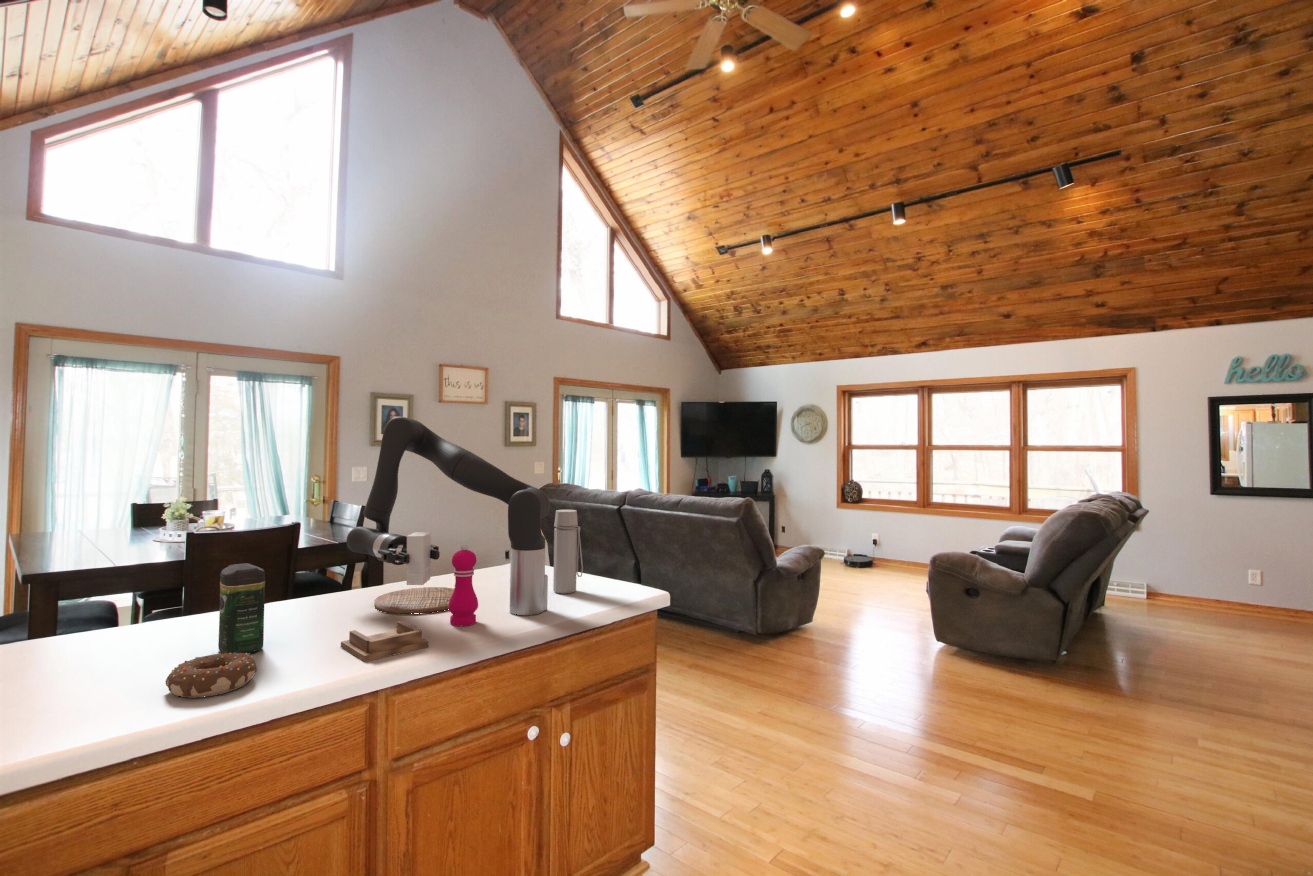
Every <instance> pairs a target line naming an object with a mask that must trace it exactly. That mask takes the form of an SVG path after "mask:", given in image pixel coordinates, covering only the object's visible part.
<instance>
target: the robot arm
mask: <svg viewBox="0 0 1313 876" xmlns="http://www.w3.org/2000/svg"><path fill="white" fill-rule="evenodd" d="M406 451H407V452H409V453H414V454H415V455H418V456H420V457H423V458H424V459H426V460H428V461H430V462H431V463H432V464H434V465H435V466H436V467H437V468H438V469H439V470H440V471H441V473H443V474H444V476H446V477H447V478H449V479H450V480H452V481H454V482H455V483H456V484H458V485H460V486H462V487H463V488H466V489H468V490H470V491H473V492H476V493H479V494H480V495H485V496H488V497H492V498H495V499H497V500H500V501H502V502H503V503H504V504H506V505H508V506H507V507H508V508H507V530H508V531H507V532H508V539H509V541H510V569H509V570H510V579H509V613H510V614H512V615H516V614H517V615H516V616H533V614H534V615H538V614H542V613H543V612H545V611H548V593H549V592H548V589H549V588H548V581H549V579H548V578H549V577H548V574H546V569H545V568H546V537H545V536H544V535H543V534H542V522H541V521H542V519H544V518H545V517H546V516H547V515H548V514H549V512H550V509H551V502H550V499H549V497H548V496H547V494H546V493H545V492H544V491H543V490H541V489H540V488H538V487H534V486H532V485H530V484H527V483H525V482H523V481H521V480H518V479H517V478H515V477H513V476H510V474H507V473H506V472H505V471H503V470H501V469H500V468H498V467H497V466H495V465H493V464H492V463H490V462H489V461H487V460H485V459H484V458H482V457H480V456H479V455H477V454H476V453H474V452H472V451H469V450H468V449H465V448H463V447H462V446H460V445H458V444H455V443H452V442H450V441H448V440H446V439H444V438H442V437H441V436H440V435H438V434H437V433H436V432H434V431H432V430H431V429H430V428H428V427H427V425H424V424H423V423H422V422H420V421H418V420H417V419H414V418H409V417H405V416H395V417H392V418H391V419H389V421H388V422H387V423H386V425H385V426H384V429H383V433H382V436H381V444H380V451H379V454H378V455H379V456H378V461H377V465H376V469H375V470H376V471H375V475H374V476H375V477H374V479H373V483H372V486H371V489H370V493H369V495H368V497H367V501H366V504H365V506H364V510H363V516H364V518H365V519H368V520H370V521H372V522H374V523H375V525H376V526H375V528H374V527H373V528H372V527H366V526H356V527H354V528H352V529H351V530H350V531H348V533H347V536H346V540H345V541H346V546H347V548H348V549H349V550H350V551H351V552H353V553H357V554H363V555H364V554H365V555H369V556H372V557H374V558H376V559H377V561H380V562H384V563H386V564H392V565H395V566H402V565H407V563H409V554H407V536H406V535H404V534H403V535H402V534H398V533H395V532H389V530H390V519H391V515H392V512H393V509H394V506H395V504H396V501H397V497H398V493H399V492H398V491H399V469H400V464H401V461H402V458H403V456H404V454H405V452H406ZM430 550H431V551H430V560H431V559H432V560H439V558H440V555H441V553H440V549H439V546H438V545H435V544H431V549H430Z"/></svg>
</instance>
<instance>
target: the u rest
mask: <svg viewBox="0 0 1313 876" xmlns="http://www.w3.org/2000/svg"><path fill="white" fill-rule="evenodd" d="M348 634H349V637H348V638H349V639H348V640H342V641H341V642H340V648H341V647H342V648H341V649H343V650H344V651H346V650H347V652H348V653H349V652H350V653H349V654H351V655H352V656H355V657H356V658H358V659H359V660H361V661H362V662H365V663H366V662H370V661H374V660H378V659H382V658H386V657H391V656H395V655H394V654H396V655H399V654H398V653H400V654H403V653H402V652H404V653H407V652H411V651H417V650H421V649H424V648H429V641H428V640H426V639H424V638H423V631H422V630H421V628H418V627H416V626H414V625H412V624H410V623H407V622H405V621H403V620H399V621H396V630H390V631H386V632H380V633H376V634H371V635H365V634H363V633H362V632H360V631H358V630H357V629H354V630H350V631H349V633H348ZM416 649H417V650H416ZM390 655H391V656H390Z"/></svg>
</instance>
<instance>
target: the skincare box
mask: <svg viewBox="0 0 1313 876" xmlns="http://www.w3.org/2000/svg"><path fill="white" fill-rule="evenodd" d="M431 533H432V532H430V531H428V532H427V531H426V532H425V531H422V532H421V531H420V532H417V531H415V532H413V533H410V534H408V535H407V536H406V537H407V554H409V563H407V564H406V585H407V586H424V585H425V584H426V583H427V582H428V581H430V580H431V558H430V551H431V550H430V549H431V543H432V542H431V541H432V540H431V539H432V537H431Z"/></svg>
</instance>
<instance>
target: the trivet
mask: <svg viewBox="0 0 1313 876" xmlns="http://www.w3.org/2000/svg"><path fill="white" fill-rule="evenodd" d="M454 588H455V587H454ZM454 588H453V587H444V586H441V587H440V586H439V587H437V586H434V587H433V586H432V587H431V586H430V587H427V586H426V587H425V586H423V587H412V588H405V589H399V590H394V591H390V592H386V593H383V594H381V595H379V596H377V597H375V599H374V602H373V603H374V606H373V607H375V608H374V609H375V610H376V609H377V610H376V611H378V610H379V611H378V612H380V611H382V612H381V613H384V612H386V613H385V614H390V613H394V614H393V615H402V614H411V613H412V614H413V615H415V614H414V613H419V614H418V615H421V614H420V613H428V614H433V613H432V612H436V613H438V612H437V611H442V612H445V611H444V610H447V611H449V610H448V609H449V608H448V606H449V601H450V598H451V596H452V594H453V591H454Z"/></svg>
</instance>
